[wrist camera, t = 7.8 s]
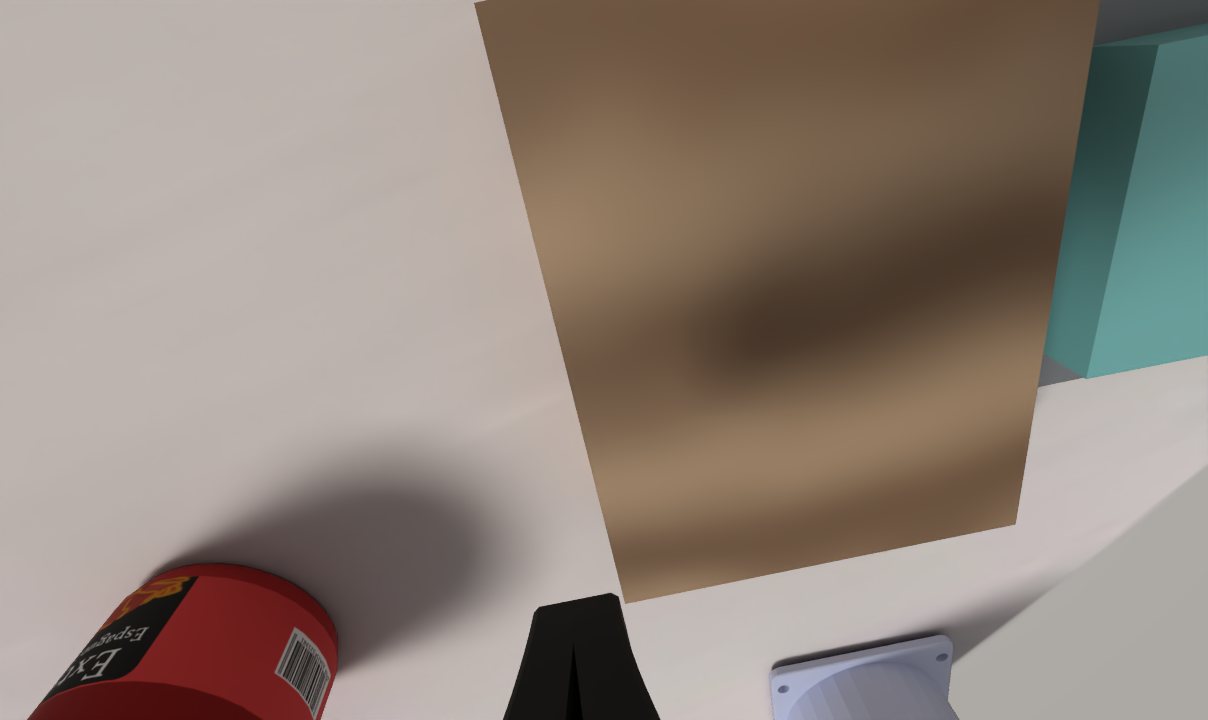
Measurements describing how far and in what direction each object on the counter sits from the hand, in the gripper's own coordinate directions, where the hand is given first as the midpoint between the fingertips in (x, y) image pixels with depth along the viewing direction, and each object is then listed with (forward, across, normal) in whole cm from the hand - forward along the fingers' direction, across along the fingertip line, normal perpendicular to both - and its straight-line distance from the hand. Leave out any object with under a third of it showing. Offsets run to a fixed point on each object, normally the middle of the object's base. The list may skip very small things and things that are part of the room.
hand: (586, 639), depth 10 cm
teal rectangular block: (+8, -18, -2) cm, 20 cm away
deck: (+10, -6, -2) cm, 12 cm away
